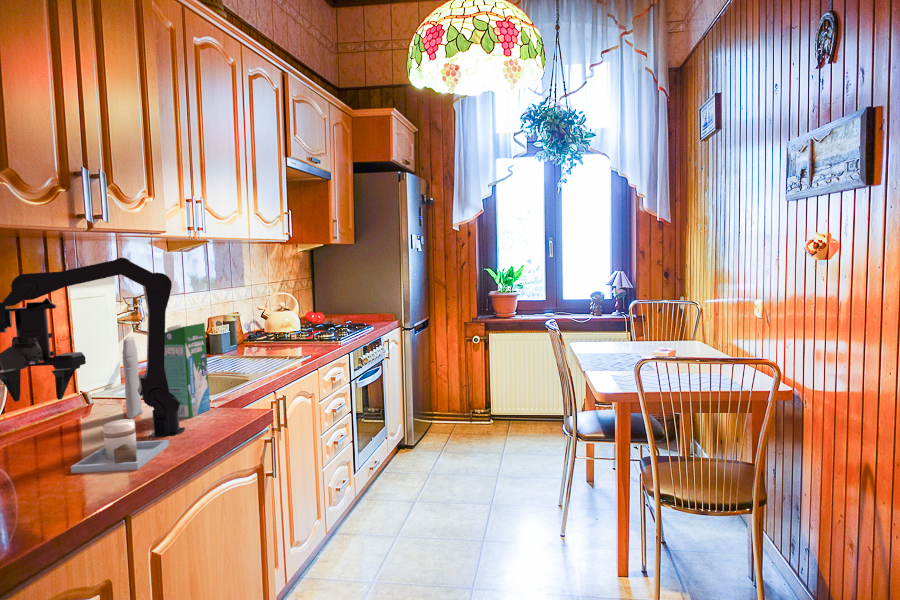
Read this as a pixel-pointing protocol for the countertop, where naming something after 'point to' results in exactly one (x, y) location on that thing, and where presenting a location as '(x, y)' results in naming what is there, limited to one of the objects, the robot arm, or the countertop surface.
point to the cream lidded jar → (118, 435)
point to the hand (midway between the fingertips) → (38, 400)
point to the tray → (100, 463)
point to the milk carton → (187, 368)
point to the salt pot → (125, 454)
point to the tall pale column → (131, 378)
